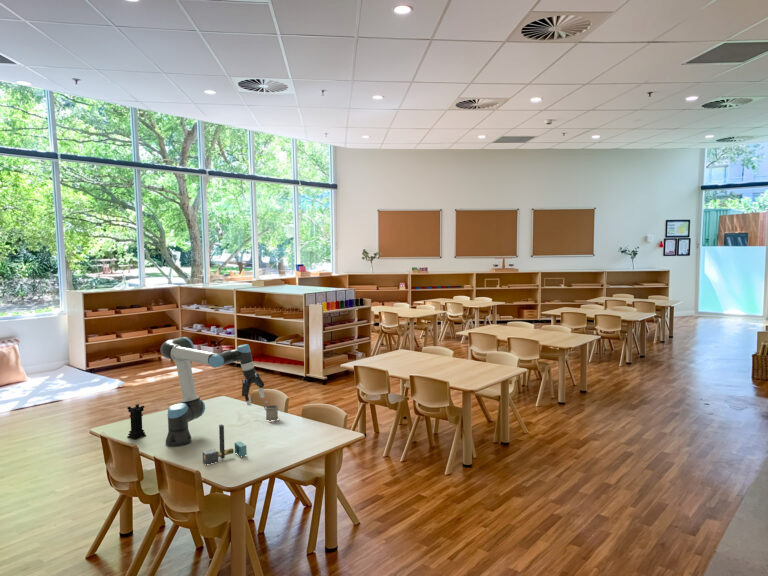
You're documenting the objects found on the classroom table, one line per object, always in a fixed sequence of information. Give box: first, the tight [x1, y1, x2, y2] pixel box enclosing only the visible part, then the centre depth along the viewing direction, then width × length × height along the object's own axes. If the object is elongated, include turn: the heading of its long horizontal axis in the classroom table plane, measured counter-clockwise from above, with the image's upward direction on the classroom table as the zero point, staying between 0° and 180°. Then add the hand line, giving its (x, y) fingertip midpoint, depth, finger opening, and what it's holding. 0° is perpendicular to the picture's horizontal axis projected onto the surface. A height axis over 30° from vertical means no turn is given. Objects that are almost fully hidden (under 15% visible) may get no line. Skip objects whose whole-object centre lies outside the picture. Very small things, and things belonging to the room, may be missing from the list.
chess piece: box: [126, 403, 147, 441], centre depth 328 cm, size 8×8×20 cm
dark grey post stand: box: [202, 424, 235, 461], centre depth 289 cm, size 3×16×19 cm, turn 129°
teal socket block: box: [233, 440, 248, 458], centre depth 298 cm, size 9×4×6 cm, turn 39°
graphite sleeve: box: [202, 448, 219, 466], centre depth 287 cm, size 5×7×6 cm
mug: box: [263, 401, 279, 421], centre depth 362 cm, size 14×10×12 cm
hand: (256, 401), depth 318 cm, fingers open, 13 cm apart
